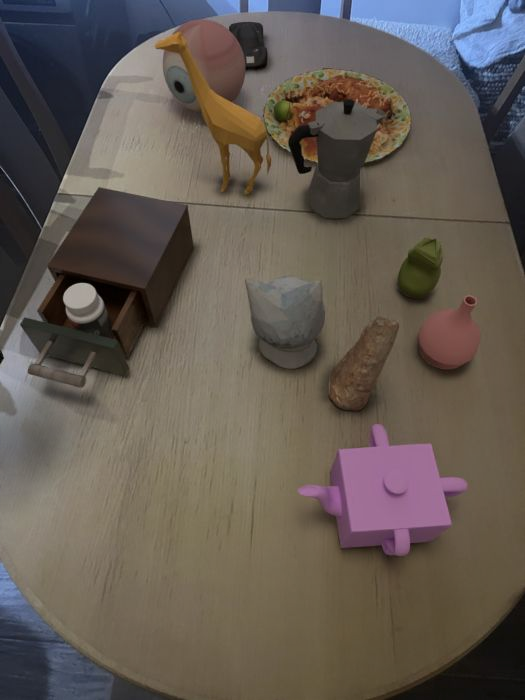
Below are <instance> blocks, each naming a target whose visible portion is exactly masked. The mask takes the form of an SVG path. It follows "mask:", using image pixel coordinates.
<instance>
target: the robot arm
mask: <svg viewBox="0 0 525 700" xmlns="http://www.w3.org/2000/svg"><path fill="white" fill-rule="evenodd" d="M3 353H4V352H3V351H2V349H0V365H2V362H3V361H4V360H5V356H4V354H3Z"/></svg>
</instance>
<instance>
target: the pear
mask: <svg viewBox="0 0 525 700" xmlns="http://www.w3.org/2000/svg"><path fill="white" fill-rule="evenodd" d="M443 259H444V252H443V248H442V243H441V242H440V241H439V240H437V238H433V239H432V238H431V237H424V238H423V239H422V240H421V241H420V242H418V243H416V244H415V245H414V246H413V248H411V249H410V250H408V252H407V257H406V258H405V259H404V260H403V262H402V263H401V266H400V268H399V271H398V274H397V285H398V289H399V290H400V292H401V293H403V295H405V296H407V297H409V298H411V299H421V298H425V297H426V296H428V295H429V294H431V292H432V291H433V290H434V289H435V288H436V287H437V285H438V283H439V281H440V278H441V272H442V270H441V266H442V263H443Z"/></svg>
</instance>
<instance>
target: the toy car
mask: <svg viewBox="0 0 525 700" xmlns="http://www.w3.org/2000/svg"><path fill="white" fill-rule="evenodd" d="M228 30H229V31H230V32H231V33H232V34H233V35H234V36H235V38H236V39H237V41H238V42H239V44H240V46H241V49H242V51H243V54H244V59H245V72H246V71H249V70H253V71H260V70H264V69H266V68H267V66H268V48H267V47H266V46H265V40H264V26H263V24H262V23H260V22H257V21H239V22H234V23H231V24H229V26H228Z"/></svg>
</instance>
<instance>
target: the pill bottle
mask: <svg viewBox="0 0 525 700" xmlns="http://www.w3.org/2000/svg"><path fill="white" fill-rule="evenodd" d="M63 301H64V303H65V305H66V314H67V317H68V318H69V320H70V322H71V324H72V326H73V328H74V330H78V331H82V332H86V333H90V334H94V335H98V336H102V337H106V338H110V339H111V338H112V336H113V332H112V327H113V324H112V321H111V319H110V317H109V314H108V312H107V309H106V307H105V304H104V302H103V300H102V298H101V297H100V296H99V295H98V294H97V292H96V290H95V288H94V287H93V286H92V285H90V284H87V283H78V284H74V285H72V286H71V287H69V288H68V289H67V290H66V291H65V293H64V296H63Z"/></svg>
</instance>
